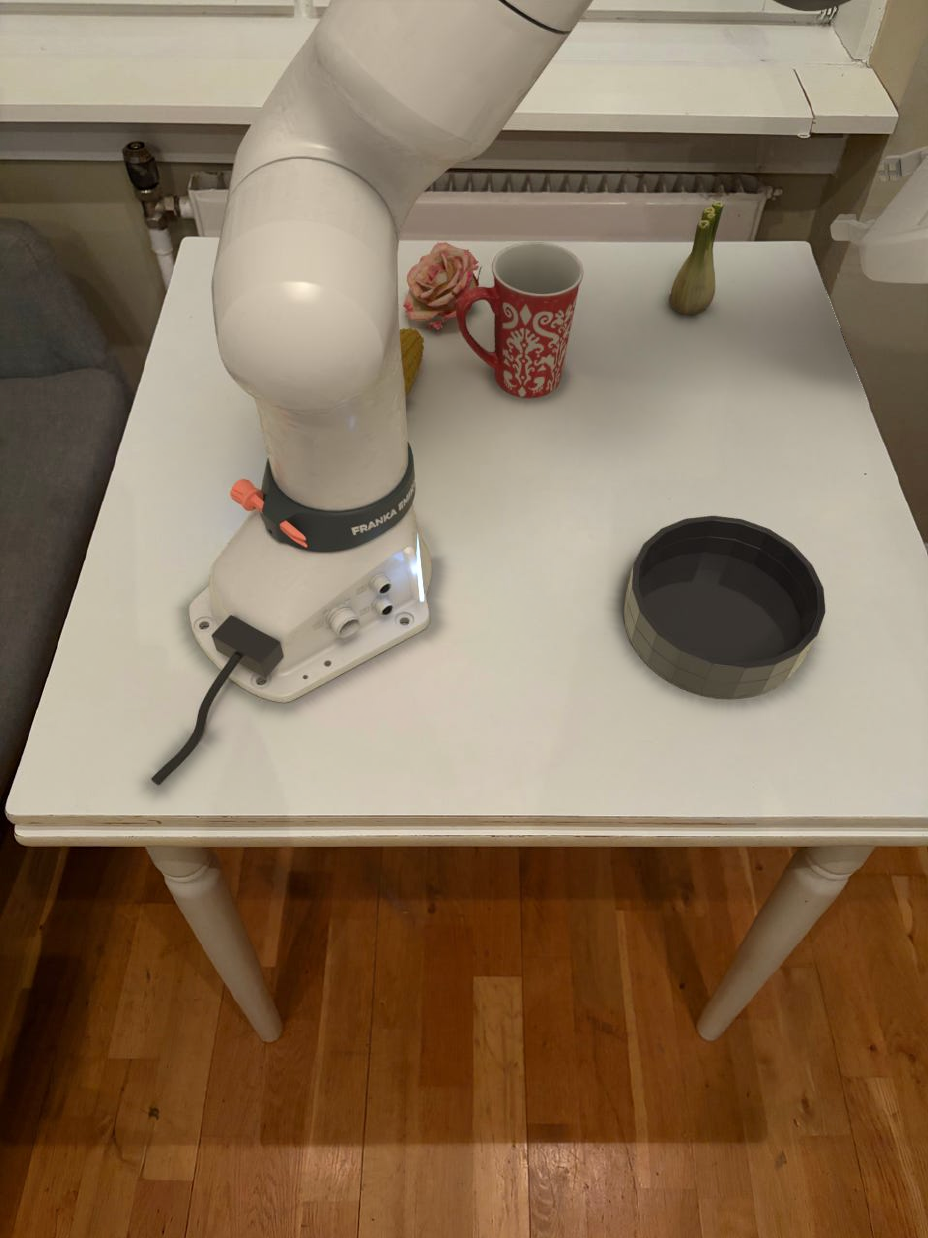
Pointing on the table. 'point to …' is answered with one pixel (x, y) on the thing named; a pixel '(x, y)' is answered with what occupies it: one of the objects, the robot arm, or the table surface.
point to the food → (410, 355)
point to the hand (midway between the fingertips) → (858, 197)
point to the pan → (722, 607)
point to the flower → (440, 283)
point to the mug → (527, 315)
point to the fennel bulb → (698, 267)
